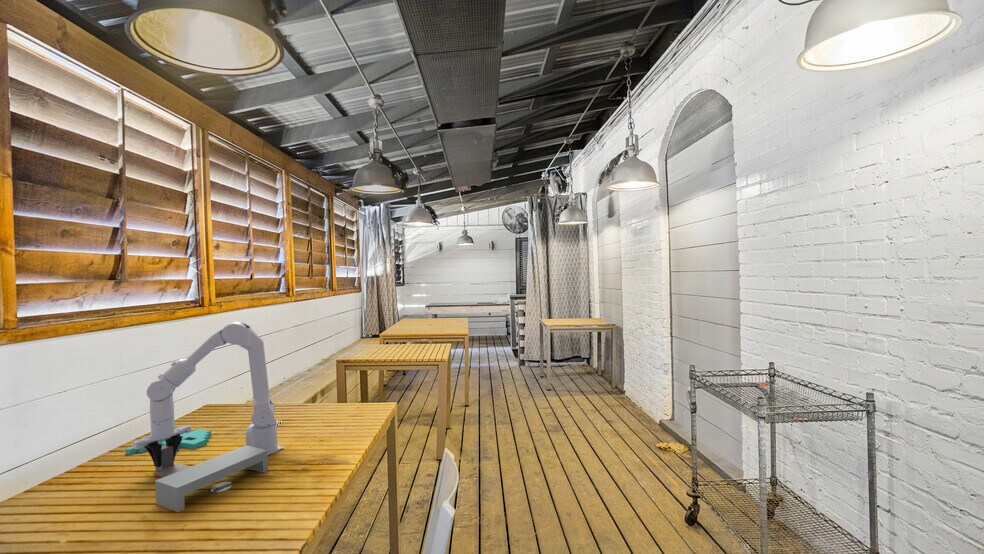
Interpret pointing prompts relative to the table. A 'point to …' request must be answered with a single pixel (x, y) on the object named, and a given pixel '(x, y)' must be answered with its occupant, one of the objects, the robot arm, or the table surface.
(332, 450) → the table surface
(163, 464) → the scraper
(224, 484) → the steel disc
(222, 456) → the grey bench
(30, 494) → the table surface
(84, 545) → the table surface
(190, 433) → the alien figure
